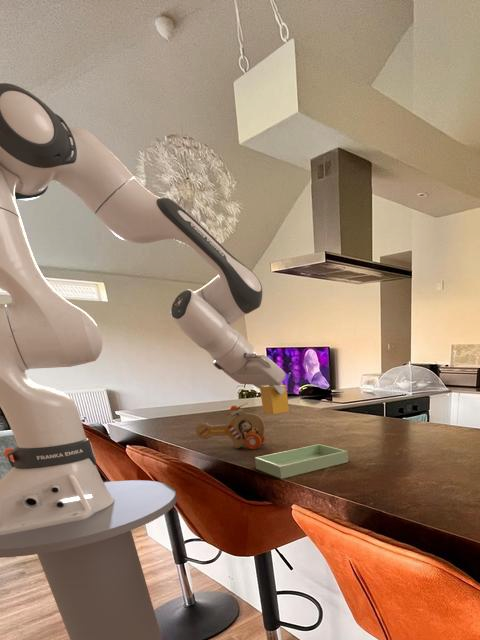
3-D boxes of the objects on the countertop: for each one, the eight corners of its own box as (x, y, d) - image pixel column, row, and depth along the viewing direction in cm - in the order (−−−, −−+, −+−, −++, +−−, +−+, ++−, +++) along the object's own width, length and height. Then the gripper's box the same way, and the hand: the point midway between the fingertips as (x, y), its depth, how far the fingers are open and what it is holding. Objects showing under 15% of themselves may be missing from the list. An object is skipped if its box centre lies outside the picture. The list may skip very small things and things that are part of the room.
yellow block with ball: (273, 414, 111) (267, 369, 107) (263, 413, 114) (257, 369, 110) (289, 411, 115) (283, 368, 110) (279, 410, 118) (273, 368, 114)
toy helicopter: (265, 449, 129) (258, 403, 124) (196, 453, 128) (186, 407, 123) (269, 443, 137) (263, 400, 132) (204, 447, 136) (196, 403, 131)
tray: (281, 478, 99) (279, 466, 98) (256, 468, 108) (254, 457, 107) (348, 462, 111) (347, 450, 110) (320, 454, 120) (319, 443, 119)
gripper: (264, 342, 97) (304, 383, 107) (223, 346, 110) (261, 381, 120) (250, 364, 95) (291, 403, 105) (210, 365, 109) (250, 399, 119)
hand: (275, 391), depth 113 cm, fingers closed on yellow block with ball, 5 cm apart
